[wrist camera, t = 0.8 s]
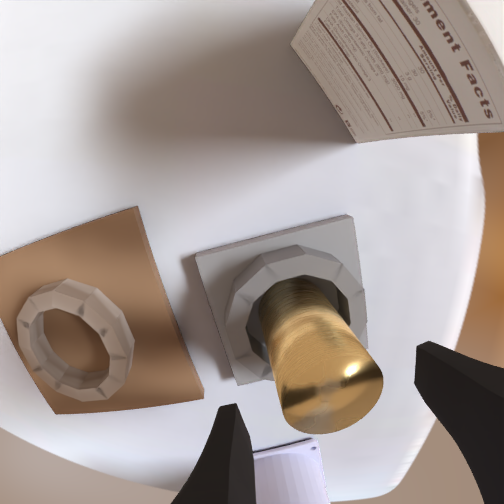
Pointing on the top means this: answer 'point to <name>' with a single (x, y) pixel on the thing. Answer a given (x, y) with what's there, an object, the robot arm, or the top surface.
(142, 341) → the hub board
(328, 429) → the brass peg
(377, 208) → the top surface
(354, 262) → the spline stand
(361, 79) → the supplement box
